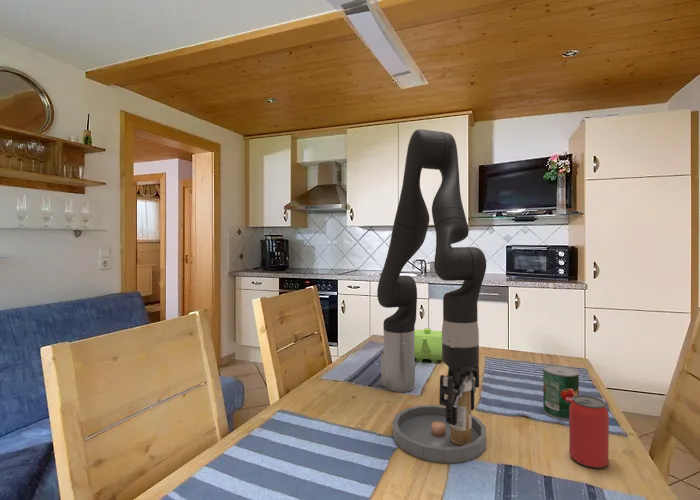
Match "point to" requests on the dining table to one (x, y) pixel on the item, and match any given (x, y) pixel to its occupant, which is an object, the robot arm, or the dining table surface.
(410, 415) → the grey round tray
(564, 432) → the dining table surface
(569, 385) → the canned tomato
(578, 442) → the beer can
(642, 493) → the dining table surface
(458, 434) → the sprinkles bottle
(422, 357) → the kettle
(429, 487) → the dining table surface
